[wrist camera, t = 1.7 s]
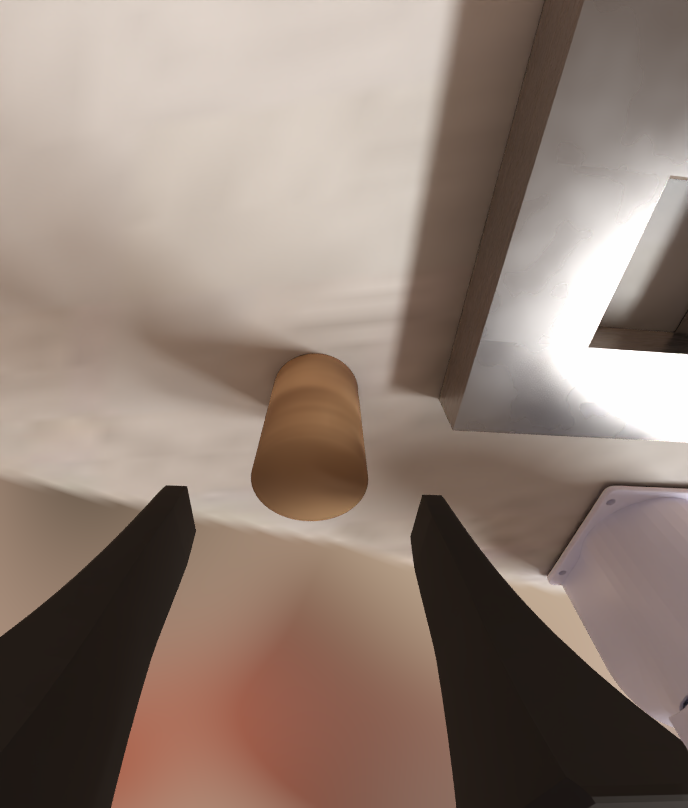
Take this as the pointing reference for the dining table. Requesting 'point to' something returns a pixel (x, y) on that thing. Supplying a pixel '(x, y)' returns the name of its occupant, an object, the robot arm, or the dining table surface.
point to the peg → (311, 442)
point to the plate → (578, 234)
